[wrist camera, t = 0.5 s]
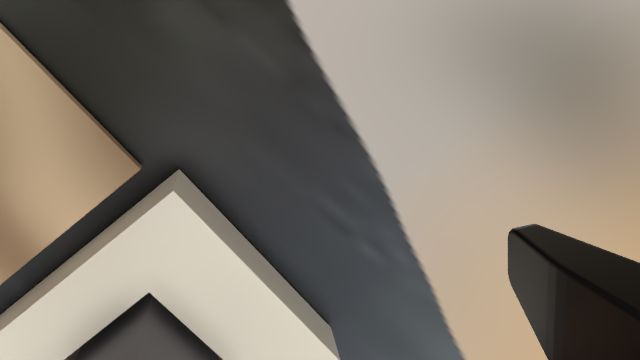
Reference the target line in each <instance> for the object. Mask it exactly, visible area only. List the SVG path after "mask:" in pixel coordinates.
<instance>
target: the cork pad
mask: <svg viewBox="0 0 640 360" xmlns="http://www.w3.org/2000/svg"><path fill="white" fill-rule="evenodd" d="M141 167H142V166H141V165H140V164H139V163H138V162H137V161H136V160H135V159H134V158H133V157H132V156H131V155H130V154H129V153H128V152H127V151H126V150H125V149H124V148H123V147H122V146H121V145H120V143H119V142H118V141H117V140H116V139H115V138H114V137H113V136H112V135H111V134H110V133H109V132H108V131H107V130H106V129H105V128H104V127H103V126H102V125H101V124H100V123H99V122H98V121H97V120H96V119H95V118H94V117H93V116H92V115H91V114H90V113H89V112H88V111H87V110H86V109H85V108H84V107H83V106H82V105H81V104H80V103H79V102H78V101H77V100H76V99H75V98H74V97H73V96H72V95H71V94H70V93H69V92H68V91H67V90H66V89H65V88H64V87H63V86H62V85H61V84H60V83H59V82H58V81H57V80H56V79H55V78H54V77H53V76H52V75H51V74H50V73H49V72H48V70H47V69H46V68H45V67H44V66H43V65H42V64H41V63H40V62H39V61H38V60H37V59H36V58H35V57H34V56H33V55H32V54H31V53H30V52H29V51H28V50H27V49H26V48H25V47H24V46H23V45H22V44H21V43H20V42H19V41H18V40H17V39H16V38H15V37H14V36H13V35H12V34H11V33H10V32H9V31H8V30H7V29H6V28H5V27H4V26H3V25H2V24H1V23H0V285H1V284H2V283H3V282H4V281H5V280H7V279H8V278H9V277H10V276H12V275H13V274H14V273H15V272H16V271H18V270H19V269H20V268H21V267H23V266H24V265H25V264H26V263H27V262H29V261H30V260H31V259H32V258H33V257H35V256H36V255H37V254H38V253H40V252H41V251H42V250H43V249H44V248H46V247H47V246H48V245H49V244H50V243H52V242H53V241H54V240H55V239H57V238H58V237H59V236H60V235H61V234H63V233H64V232H65V231H66V230H68V229H69V228H70V227H71V226H72V225H74V224H75V223H76V222H77V221H78V220H80V219H81V218H82V217H83V216H85V215H86V214H87V213H88V212H89V211H91V210H92V209H93V208H94V207H96V206H97V205H98V204H99V203H100V202H102V201H103V200H104V199H105V198H106V197H108V196H109V195H110V194H111V193H113V192H114V191H115V190H116V189H117V188H119V187H120V186H121V185H122V184H124V183H125V182H126V181H127V180H128V179H130V178H131V177H132V176H133V175H134V174H136V173H137V172H138V171H139V170H141Z"/></svg>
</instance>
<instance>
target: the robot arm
mask: <svg viewBox="0 0 640 360" xmlns="http://www.w3.org/2000/svg"><path fill="white" fill-rule="evenodd" d="M508 275H509V279H510V283H511V286H512V288H513V290H514V292H515V294H516V296H517V298H518V300H519V302H520V304H521V306H522V308H523V310H524V312H525V314H526V316H527V318H528V320H529V322H530V324H531V326H532V328H533V330H534V332H535V334H536V336H537V338H538V340H539V342H540V344H541V346H542V348H543V350H544V352H545V354H546V356H547V358H548V360H640V263H638V262H636V261H633V260H630V259H628V258H625V257H623V256H620V255H617V254H615V253H611V252H609V251H606V250H604V249H601V248H599V247H596V246H593V245H591V244H588V243H585V242H583V241H580V240H577V239H575V238H572V237H569V236H566V235H564V234H561V233H559V232H556V231H553V230H551V229H548V228H545V227H543V226H540V225H537V224H531V225H527V226H522V227H517V228H513V229H512V230H511V231H510V232H509V235H508Z"/></svg>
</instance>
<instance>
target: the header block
mask: <svg viewBox="0 0 640 360" xmlns="http://www.w3.org/2000/svg"><path fill="white" fill-rule="evenodd" d="M147 293H150V294H152V295H153V296H154V297H155V298H156V299H157V300H158V301H159V302H160V303H161V304H163V305H164V306H165V307H166V308H167V309H168V310H169V311H170V312H171V313H172V314H173V315H175V316H176V317H177V318H178V319H179V320H180V321H181V322H182V323H183V324H184V325H186V326H187V327H188V328H189V329H190V330H191V331H192V332H193V333H194V334H195V335H197V336H198V337H199V338H200V339H201V340H202V341H203V342H204V343H205V344H206V345H208V346H209V347H210V348H211V349H212V350H213V351H214V352H215V353H216V354H217V355H218V356H219V360H340V357H339V354H338V350H337V347H336V344H335V340H334V337H333V333H332V330H331V327H330V326H329V325H328V324H327V323H326V322H325V321H324V320H323V319H322V318H321V317H320V316H319V315H318V314H317V312H316V311H315V310H314V309H313V308H312V307H311V306H310V305H309V304H308V303H307V302H306V301H305V300H304V299H303V298H302V297H301V296H300V295H299V294H298V293H297V292H296V291H295V290H294V288H293V287H292V286H291V285H290V284H289V283H288V282H287V281H286V280H285V279H284V278H283V277H282V276H281V275H280V274H279V273H278V272H277V271H276V270H275V269H274V268H273V267H272V265H271V264H270V263H269V262H268V261H267V260H266V259H265V258H264V257H263V256H262V255H261V254H260V253H259V252H258V251H257V250H256V249H255V248H254V247H253V246H252V245H251V244H250V242H249V241H248V240H247V239H246V238H245V237H244V236H243V235H242V234H241V233H240V232H239V231H238V230H237V229H236V228H235V227H234V226H233V225H232V224H231V223H230V222H229V221H228V219H227V218H226V217H225V216H224V215H223V214H222V213H221V212H220V211H219V210H218V209H217V208H216V207H215V206H214V205H213V204H212V203H211V202H210V201H209V200H208V199H207V198H206V197H205V195H204V194H203V193H202V192H201V191H200V190H199V189H198V188H197V187H196V186H195V185H194V184H193V183H192V182H191V181H190V180H189V179H188V178H187V177H186V176H185V175H184V174H183V172H182V171H181V170H180V169H179V170H177V171H176V172H175V173H174V174H172V175H171V176H170V177H169V178H168V179H166V180H165V181H164V182H163V183H161V184H160V185H159V186H158V187H157V188H155V189H154V190H153V191H152V192H150V193H149V194H148V195H147V196H145V197H144V198H143V199H142V200H141V201H139V202H138V203H137V204H136V205H134V206H133V207H132V208H131V209H130V210H128V211H127V212H126V213H125V214H123V215H122V216H121V217H120V218H118V219H117V220H116V221H115V222H114V223H112V224H111V225H110V226H109V227H107V228H106V229H105V230H104V231H103V232H101V233H100V234H99V235H98V236H96V237H95V238H94V239H93V240H91V241H90V242H89V243H88V244H87V245H85V246H84V247H83V248H82V249H80V250H79V251H78V252H77V253H76V254H74V255H73V256H72V257H71V258H69V259H68V260H67V261H66V262H65V263H63V264H62V265H61V266H60V267H58V268H57V269H56V270H55V271H53V272H52V273H51V274H50V275H49V276H47V277H46V278H45V279H44V280H42V281H41V282H40V283H39V284H38V285H36V286H35V287H34V288H33V289H31V290H30V291H29V292H28V293H26V294H25V295H24V296H23V297H22V298H20V299H19V300H18V301H17V302H15V303H14V304H13V305H12V306H11V307H9V308H8V309H7V310H6V311H4V312H3V313H2V314H1V315H0V360H76V358H77V355H78V353H79V350H80V348H79V347H81V346H82V345H83V344H85V343H86V342H87V341H88V340H90V339H91V338H92V337H93V336H95V335H96V334H97V333H98V332H100V331H101V330H102V329H103V328H105V327H106V326H107V325H108V324H110V323H111V322H112V321H113V320H115V319H116V318H117V317H118V316H120V315H121V314H122V313H124V312H125V311H126V310H127V309H129V308H130V307H131V306H132V305H134V304H135V303H136V302H137V301H139V300H140V299H141V298H142V297H144V296H145V295H146V294H147Z"/></svg>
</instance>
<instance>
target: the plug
mask: <svg viewBox="0 0 640 360" xmlns="http://www.w3.org/2000/svg"><path fill="white" fill-rule="evenodd" d="M76 360H219V356H218V355H217V354H216V353H215V352H214V351H213V350H212V349H211V348H210V347H209V346H208V345H206V344H205V343H204V342H203V341H202V340H201V339H200V338H199V337H198V336H197V335H195V334H194V333H193V332H192V331H191V330H190V329H189V328H188V327H187V326H186V325H184V324H183V323H182V322H181V321H180V320H179V319H178V318H177V317H176V316H175V315H173V314H172V313H171V312H170V311H169V310H168V309H167V308H166V307H165V306H164V305H163V304H161V303H160V302H159V301H158V300H157V299H156V298H155V297H154V296H153V295H152V294H150V293H147V294H146V295H145V296H144V297H142V298H141V299H140V300H139V301H137V302H136V303H135V304H134V305H132V306H131V307H130V308H129V309H127V310H126V311H125V312H124V313H122V314H121V315H120V316H118V317H117V318H116V319H115V320H113V321H112V322H111V323H110V324H108V325H107V326H106V327H105V328H103V329H102V330H101V331H100V332H98V333H97V334H96V335H95V336H93V337H92V338H91V339H90V340H88V341H87V342H86V343H85V344H83V345H82V346H81V348H80V350H79V353H78V355H77V358H76Z"/></svg>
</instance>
